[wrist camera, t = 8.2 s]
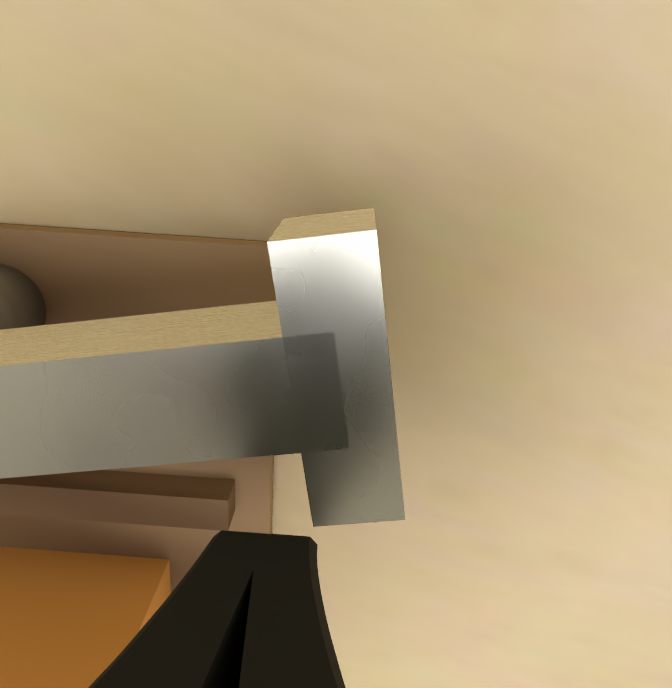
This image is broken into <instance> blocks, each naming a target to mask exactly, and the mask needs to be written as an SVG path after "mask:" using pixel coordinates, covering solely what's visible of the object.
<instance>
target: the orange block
mask: <svg viewBox="0 0 672 688" xmlns="http://www.w3.org/2000/svg"><path fill="white" fill-rule="evenodd" d="M170 594H171V585H170V564H169V559H157V558H144V557H131V556H117V555H104V554H91V553H78V552H65V551H52V550H38V549H25V548H12V547H0V688H88V687H89V686H90V685H91V684H92V683H93V682H94V681H95V680H96V679H97V678H98V677H99V676H100V675H101V674H102V672H103V671H104V670H105V669H106V668H107V667H108V666H109V665H110V664H111V663H112V662H113V661H114V660H115V659H116V657H117V656H118V655H119V654H120V653H121V652H122V651H123V650H124V648H125V647H126V646H127V645H128V644H129V643H130V641H131V640H132V639H133V638H134V637H135V636H136V634H137V633H138V632H139V631H140V630H141V629H142V627H143V626H144V625H145V624H146V623H147V621H148V620H149V619H150V618H151V617H152V616H153V614H154V613H155V612H156V611H157V610H158V609H159V607H160V606H161V605H162V604H163V603H164V601H165V600H166V599H167V598H168V596H169V595H170Z"/></svg>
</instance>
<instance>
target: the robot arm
mask: <svg viewBox="0 0 672 688" xmlns="http://www.w3.org/2000/svg"><path fill="white" fill-rule="evenodd" d="M88 688H345V685H344V682H343V678H342V675H341V671H340V668H339V664H338V661H337V657H336V654H335V650H334V647H333V643H332V640H331V636H330V632H329V628H328V624H327V620H326V615H325V611H324V606H323V601H322V595H321V590H320V584H319V577H318V568H317V544H316V543H315V542H314V541H313V539H312V538H311V537H307V536H293V535H280V534H266V533H252V532H239V531H225V530H221V531H220V532H219V533H217V534H216V535H215V536H213V538H212V539H211V541H210V542H209V543H208V545H207V546H206V548H205V549H204V551H203V552H202V553H201V555H200V556H199V557H198V559H197V560H196V562H195V563H194V564H193V566H192V567H191V568H190V570H189V571H188V572H187V573H186V575H185V576H184V577H183V579H182V580H181V581H180V582H179V584H178V585H177V586H176V588H175V589H174V590H173V591H172V593H171V594H170V595H169V596H168V598H167V599H166V600H165V601H164V603H163V604H162V605H161V606H160V607H159V609H158V610H157V611H156V612H155V613H154V614H153V616H152V617H151V618H150V619H149V620H148V621H147V623H146V624H145V625H144V626H143V627H142V629H141V630H140V631H139V632H138V633H137V634H136V636H135V637H134V638H133V639H132V640H131V641H130V643H129V644H128V645H127V646H126V647H125V648H124V650H123V651H122V652H121V653H120V654H119V655H118V656H117V657H116V659H115V660H114V661H113V662H112V663H111V664H110V665H109V666H108V667H107V668H106V669H105V670H104V671H103V672H102V674H101V675H100V676H99V677H98V678H97V679H96V680H95V681H94V682H93V683H92V684H91V685H90V686H89V687H88Z"/></svg>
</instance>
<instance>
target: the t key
mask: <svg viewBox="0 0 672 688" xmlns="http://www.w3.org/2000/svg"><path fill="white" fill-rule="evenodd" d="M267 245H268V251H269V257H270V264H271V270H272V276H273V282H274V288H275V294H276V300H277V301H267V302H258V303H248V304H239V305H229V306H220V307H211V308H201V309H192V310H182V311H173V312H163V313H154V314H144V315H135V316H126V317H116V318H107V319H97V320H88V321H78V322H69V323H60V324H50V325H41V326H31V327H22V328H12V329H3V330H0V479H1V478H13V477H24V476H36V475H48V474H59V473H71V472H83V471H95V470H106V469H118V468H130V467H141V466H153V465H165V464H176V463H188V462H200V461H211V460H223V459H235V458H246V457H258V456H270V455H282V454H293V453H301V454H302V461H303V467H304V473H305V479H306V485H307V491H308V497H309V504H310V510H311V516H312V522H313V527H315V526H328V525H341V524H355V523H368V522H381V521H394V520H405V514H404V503H403V493H402V483H401V473H400V463H399V453H398V443H397V432H396V422H395V412H394V402H393V392H392V382H391V372H390V361H389V351H388V341H387V331H386V321H385V311H384V301H383V290H382V280H381V270H380V260H379V250H378V240H377V230H376V221H375V212H374V208H367V209H359V210H350V211H341V212H333V213H324V214H316V215H307V216H299V217H290V218H284V219H283V220H282V222H281V223H280V224H279V226H278V227H277V229H276V230H275V232H274V233H273V234H272V236H271V237H270V239H269V240H268V242H267Z"/></svg>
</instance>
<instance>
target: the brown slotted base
mask: <svg viewBox="0 0 672 688" xmlns="http://www.w3.org/2000/svg"><path fill="white" fill-rule="evenodd" d="M267 301H277V300H276V294H275V288H274V282H273V276H272V270H271V264H270V257H269V251H268V245H267V241H253V240H238V239H223V238H208V237H193V236H179V235H164V234H149V233H134V232H119V231H105V230H90V229H75V228H60V227H45V226H31V225H16V224H1V223H0V330H3V329H12V328H22V327H31V326H41V325H50V324H60V323H69V322H78V321H88V320H97V319H107V318H116V317H126V316H135V315H144V314H154V313H163V312H173V311H182V310H192V309H201V308H211V307H220V306H229V305H239V304H248V303H258V302H267ZM273 460H274V455H270V456H258V457H246V458H235V459H223V460H211V461H200V462H188V463H176V464H165V465H153V466H141V467H130V468H118V469H106V470H95V471H83V472H71V473H59V474H48V475H36V476H24V477H13V478H1V479H0V547H12V548H25V549H38V550H52V551H65V552H78V553H91V554H104V555H117V556H131V557H144V558H157V559H169V564H170V585H171V593H172V591H173V590H174V589H175V588H176V586H177V585H178V584H179V582H180V581H181V580H182V579H183V577H184V576H185V575H186V573H187V572H188V571H189V570H190V568H191V567H192V566H193V564H194V563H195V562H196V560H197V559H198V557H199V556H200V555H201V553H202V552H203V551H204V549H205V548H206V546H207V545H208V543H209V542H210V541H211V539H212V538H213V536H215V535H216V534H217V533H219V532H220V531H221V530H225V531H239V532H252V533H266V534H272V498H273Z"/></svg>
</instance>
